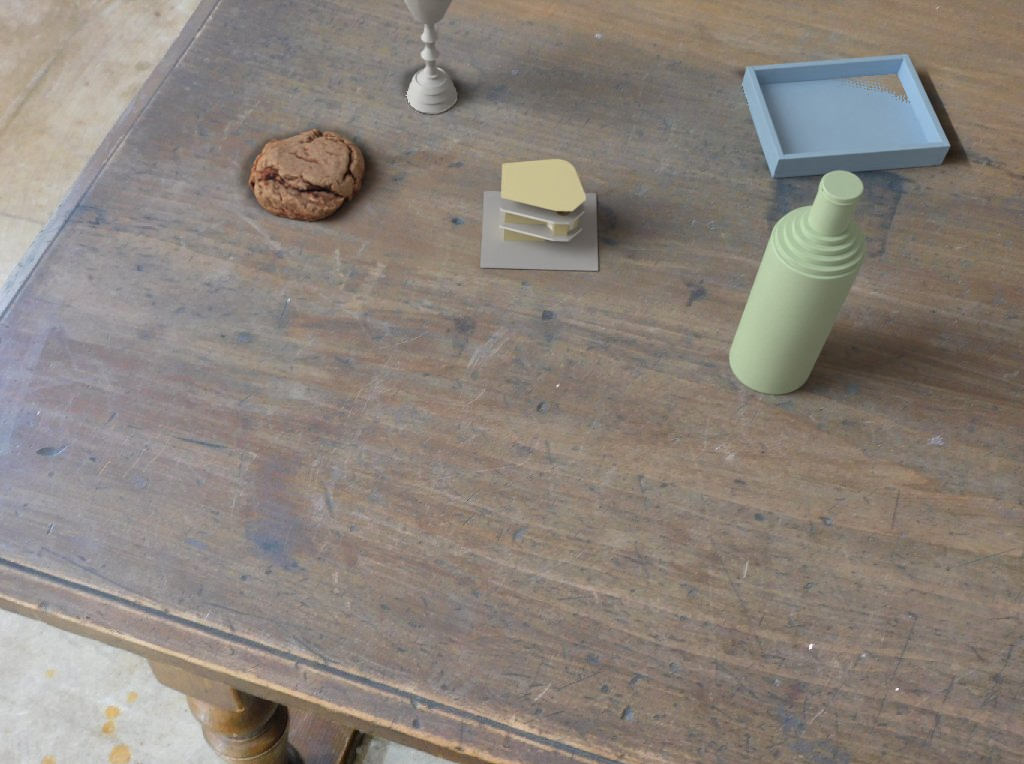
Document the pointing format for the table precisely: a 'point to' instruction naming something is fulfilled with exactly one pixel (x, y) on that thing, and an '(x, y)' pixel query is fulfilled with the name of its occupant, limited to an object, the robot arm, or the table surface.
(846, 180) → the bottle
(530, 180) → the stacked layers on plate
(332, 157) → the cookie
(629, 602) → the table surface
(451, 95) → the chalice
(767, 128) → the tray
